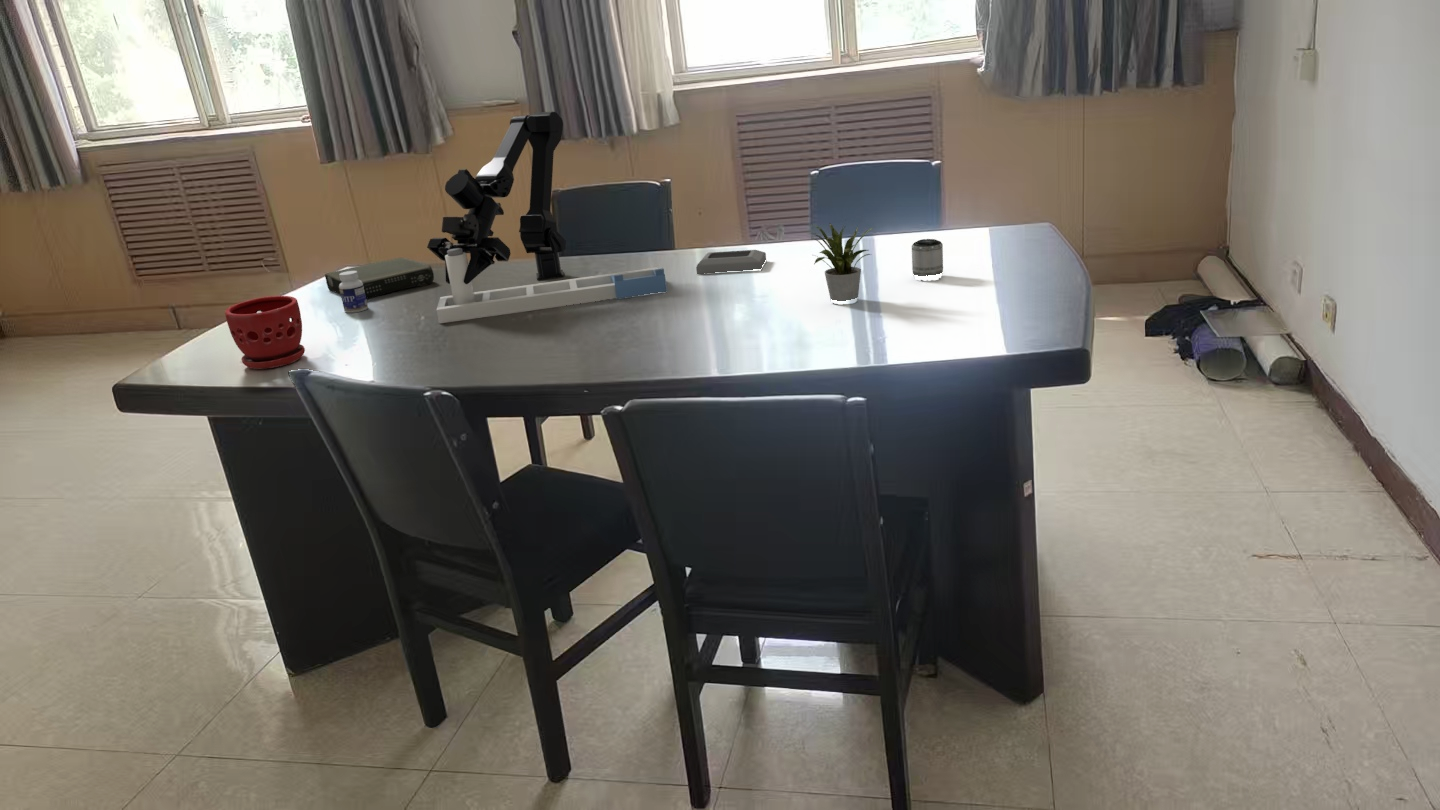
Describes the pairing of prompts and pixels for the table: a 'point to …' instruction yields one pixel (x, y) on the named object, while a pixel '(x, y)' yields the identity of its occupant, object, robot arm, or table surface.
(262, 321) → the plant pot
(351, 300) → the pill bottle
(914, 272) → the camera lens
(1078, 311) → the table surface
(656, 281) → the white and blue ladder
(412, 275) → the network switch
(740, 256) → the gray box with screen
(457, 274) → the white capped cylinder
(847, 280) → the house plant
